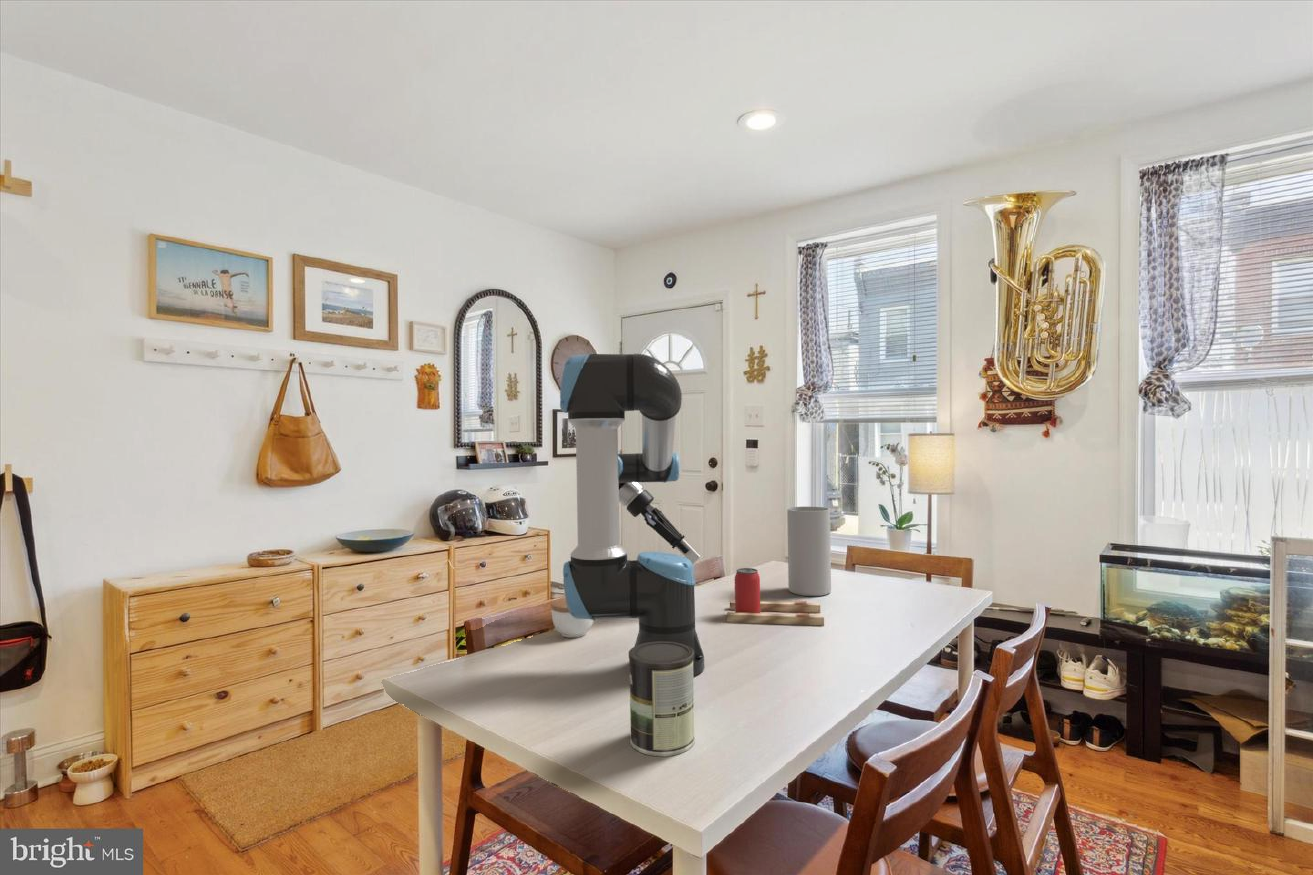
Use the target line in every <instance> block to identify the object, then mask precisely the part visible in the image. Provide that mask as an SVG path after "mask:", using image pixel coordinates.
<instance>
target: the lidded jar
mask: <svg viewBox="0 0 1313 875" xmlns="http://www.w3.org/2000/svg"><path fill="white" fill-rule="evenodd" d="M550 608H551V619H552V624H553V626H554V628H555V629H556V631H557V632H559V633H560V635H561V636H562V637H564V638H580V637H583V636H585V635H587V632H588V631H589V630H590V629H591V628H592V626H593V624H594V621H595V620H591V619H576V618H574V617H573V616H572V615H571V614H570V612H569V610H568V607H567V603H566V598H565V597H560V598H557V599H555V600H553V601H551V603H550Z"/></svg>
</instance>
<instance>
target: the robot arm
mask: <svg viewBox="0 0 1313 875" xmlns="http://www.w3.org/2000/svg"><path fill="white" fill-rule="evenodd" d="M682 398H683V397H682V389H681V386H680V383H679V382H678V379H677V378H676V376H675V375H674V373H673V372H672V371H671V369H669V367H668V366H666V364H664V363H663V362H661V361H660V360H659V359H656V358H655V357H653V356H650V355H648V354H647V355H646V354H644V353H633V354H632V353H630V354H629V353H628V354H627V353H622V354H621V353H620V354H619V353H617V354H616V353H615V354H614V353H612V354H611V353H609V354H608V353H587V354H577V355H576V354H575V355H572V356H569V357H568V358H567V360H566V361H565V363H564V366H563V369H562V376H561V382H560V392H559V407H560V411H561V412H562V413H566V414H567V417H568V418H567V421H568V422H569V424H570V425H572V426H573V427H574V429H575V449H576V452H575V454H576V457H575V459H576V462H575V463H576V464H575V465H576V467H575V468H576V508H577V509H576V510H577V513H576V514H577V516H576V517H577V518H576V519H577V523H576V524H577V545H576V547H575V548H574V549H573V550H572V551H571V552H570V560H568V561H566V562H564V564H563V569H562V576H563V590H564V598H566V603H567V607H568V610H569V612H570V614H571V615H572V616H573V617H574V618H576V619H591V620H594V621H595V620H615V619H617V620H619V619H620V620H621V619H638V632H637V636H636V640H635V643H634V646H633V647H635V646H637V645H640V644H643V643H647V642H655V641H670V642H677V643H682V644H685V645H687V646H689V647H691V648H692V649H693V650H694V658H693V678H694V677H696V676H699V675H700V674H701V673H702V672H703V671H704V670H705V656H704V652H703V649H702V645H701V643H700V640H699V639H700V638H699V637H698V633H697V631H696V609H695V608H696V602H695V600H696V599H695V585H696V580H695V572H694V571H695V570H694V569H695V568H694V564H695V563H696V562H697V561H698V560H699V559H700V558H701V555H700V554H699V553H698V552H697V551H696V550H695V549H694V548H693V547H692V546H691V545H690V544H689V543H688V542H687V541H686V540H685V539H684V538H685V535H684V534H683V535H682V533H681V532H679V530H678V529H677V528H676V527H675V525H673V523H671V522H670V520H669V519H668V518H667V517H666V516H665V514H664V513H663V512H662V511H661V510H660V509H658V508H657V507H654V506H653V505H651V503H652V502H653V501H654V499H655V498H654V496H653V495H652V494H651V493H650V492H649V491H648V490H647V489H644V486H643V485H642V484H641V483H670V482H671V483H672V482H676V481H678V480H679V478H680V456H679V455H678V453H676V452H674V441H675V439H674V438H675V430H676V429H675V426H676V416H677V414H678V413H679V412H680V410H681V408H682V400H683V399H682ZM634 411H639V413H640V414H641V432H642V433H641V437H642V438H641V442H642V443H641V444H642V445H641V446H642V448H641V450H642V453H641V452H640V453H619V438H618V437H619V434H618V432H619V430H618V429H619V427H620V426H621V425H622V424H623V423H624V421H625V419H626V418H625V417H626V416H625V414H626V413H625V412H634ZM620 504H621V506H623V507H626V510H627V511H628V513H630V514H631V516H632V517H634V518H637V517H639V515H640V514H641V515H642V517H643V518H644V519H643V520H644V521H645V523H646V525H647V526H649V527H650V528H652V530H654V531H655V532H656V534H658V535H659V536H661V538H662V539H664V540H665V541H666V542H667V543H668V544H669V545H670V546H671V548H672V549H677V550H678V551H679V552H680V553H681V554H682V555H683V556H682V555H679V554H675V553H671V552H670V553H669V552H664V551H643V552H640V553H638V555H637V556H636V560H633V559H632V560H631V559H629V560H628V552H627V551H628V550H626V549H625V548H624V547H623V545H621V542H620V540H621V539H620Z"/></svg>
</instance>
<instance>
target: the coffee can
mask: <svg viewBox="0 0 1313 875" xmlns="http://www.w3.org/2000/svg"><path fill="white" fill-rule="evenodd" d="M634 646H635V645H634ZM634 646H633V647H631V648H630V649H629V651H628V661H629V663H628V664H629V707H630V708H629V709H630V710H629V711H630V713H629V715H630V719H629V720H630V724H629V725H630V738H629V739H630V740H629V741H630V745H631V747H632V748H633V749H634V750H636V751H637V752H639V753H640V754H644V755H646V756H652V757H672V756H677V755H681V754H683V753H685V752H687V751H689V750H690V749H691V748H692V747H693V746H694V744H695V743H696V742H695V741H696V738H695V705H694V704H695V701H694V700H695V698H694V696H695V694H694V693H695V692H694V691H695V690H694V689H695V688H694V686H695V685H694V684H695V683H694V677H693V658H694V650H693V649H692V648H691V647H689V646H687V645H685V644H682V643H677V642H670V641H655V642H647V643H643V644H640V645H637V646H635V647H634Z"/></svg>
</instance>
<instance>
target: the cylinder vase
mask: <svg viewBox="0 0 1313 875" xmlns="http://www.w3.org/2000/svg"><path fill="white" fill-rule="evenodd" d="M786 511H787V512H786V514H787V516H786V517H787V518H786V519H787V573H788V574H787V576H788V577H787V578H788V583H787V585H788V591H789V592H791V593H792V594H794V595H796V596H797V595H798V596H803V597H822V596H823V597H824V596H826V595H829V594H830V593H831V591H832V565H831V564H832V562H831V556H832V555H831V554H832V553H831V508H828V507H824V506H792V507H787V509H786Z"/></svg>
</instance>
